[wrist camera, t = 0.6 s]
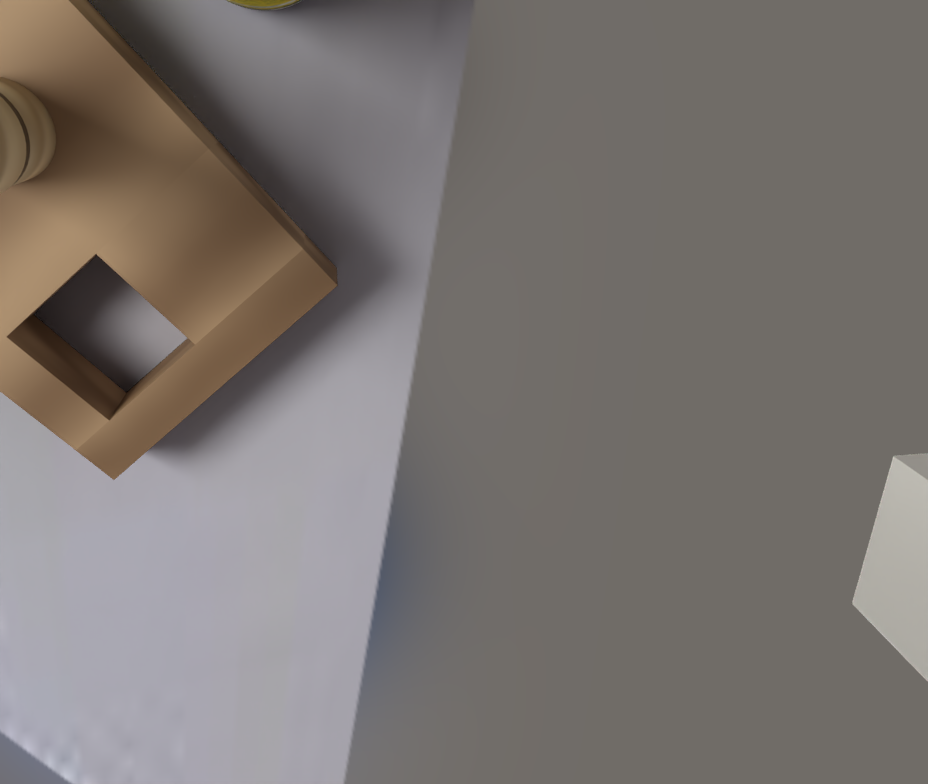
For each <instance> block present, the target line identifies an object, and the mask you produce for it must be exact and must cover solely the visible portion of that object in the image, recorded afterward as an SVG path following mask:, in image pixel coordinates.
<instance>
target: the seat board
mask: <svg viewBox="0 0 928 784" xmlns="http://www.w3.org/2000/svg"><path fill="white" fill-rule="evenodd" d="M0 77H3V78H6V79H10V80H12V81H14V82H17V83H19V84H20V85H22V86H24V87H25V88H27V89H28V90H30V91H31V92H32V93H33V94H34V95H35V96H36V97H37V98H38V99H39V100H40V101H41V102H42V103H43V105H44V106H45V108H46V109H47V111H48V113H49V114H50V116H51V119H52V121H53V124H54V128H55V133H56V147H55V152H54V155H53V157H52V160H51V162H50V163H49V165H48V166H47V167H46V168H45V170H44V171H42V172H41V173H40V174H39V175H37V176H35V177H34V178H31V179H29V180H26V181H24V182H21V183H18V184H16V185H13V186H11V187H10V188H8V189H7V190H6V191H4V192H2V193H1V194H0V392H2V393H3V394H4V395H5V396H7V397H8V398H9V399H11V400H12V401H13V402H14V403H16V404H17V405H18V406H20V407H21V408H22V409H23V410H25V411H26V412H27V413H29V414H30V415H31V416H32V417H34V418H35V419H36V420H38V421H39V422H40V423H41V424H43V425H44V426H45V427H47V428H48V429H49V430H50V431H52V432H53V433H54V434H56V435H57V436H58V437H59V438H61V439H62V440H63V441H65V442H66V443H67V444H68V445H70V446H71V447H72V448H74V449H75V450H76V451H77V452H79V453H80V454H81V455H83V456H84V457H85V458H86V459H88V460H89V461H90V462H92V463H93V464H94V465H95V466H97V467H98V468H99V469H101V470H102V471H103V472H104V473H106V474H107V475H108V476H110V477H111V478H112V479H113V480H114V479H116V478H117V477H118V476H119V475H120V474H121V473H122V472H124V471H125V470H126V469H127V468H128V467H129V466H131V465H132V464H133V463H134V462H135V461H136V460H137V459H139V458H140V457H141V456H142V455H143V454H144V453H145V452H147V451H148V450H149V449H150V448H151V447H152V446H154V445H155V444H156V443H157V442H158V441H159V440H160V439H162V438H163V437H164V436H165V435H166V434H167V433H168V432H170V431H171V430H172V429H173V428H174V427H175V426H177V425H178V424H179V423H180V422H181V421H182V420H183V419H185V418H186V417H187V416H188V415H189V414H190V413H191V412H193V411H194V410H195V409H196V408H197V407H198V406H200V405H201V404H202V403H203V402H204V401H205V400H206V399H208V398H209V397H210V396H211V395H212V394H213V393H214V392H216V391H217V390H218V389H219V388H220V387H221V386H223V385H224V384H225V383H226V382H227V381H228V380H229V379H231V378H232V377H233V376H234V375H235V374H236V373H237V372H239V371H240V370H241V369H242V368H243V367H244V366H246V365H247V364H248V363H249V362H250V361H251V360H252V359H254V358H255V357H256V356H257V355H258V354H259V353H260V352H262V351H263V350H264V349H265V348H266V347H267V346H269V345H270V344H271V343H272V342H273V341H274V340H275V339H277V338H278V337H279V336H280V335H281V334H282V333H284V332H285V331H286V330H287V329H288V328H289V327H290V326H292V325H293V324H294V323H295V322H296V321H297V320H298V319H300V318H301V317H302V316H303V315H304V314H305V313H307V312H308V311H309V310H310V309H311V308H312V307H313V306H315V305H316V304H317V303H318V302H319V301H320V300H321V299H323V298H324V297H325V296H326V295H327V294H328V293H330V292H331V291H332V290H333V289H334V288H335V287H336V286H338V285H337V268H336V267H335V266H334V265H333V264H332V262H331V261H330V260H329V259H328V258H327V257H326V256H325V255H324V254H323V253H322V252H321V251H320V250H319V248H318V247H317V246H316V245H315V244H314V243H313V242H312V241H311V240H310V239H309V238H308V237H307V236H306V235H305V233H304V232H303V231H302V230H301V229H300V228H299V227H298V226H297V225H296V224H295V223H294V222H293V221H292V220H291V218H290V217H289V216H288V215H287V214H286V213H285V212H284V211H283V210H282V209H281V208H280V207H279V206H278V204H277V203H276V202H275V201H274V200H273V199H272V198H271V197H270V196H269V195H268V194H267V193H266V192H265V191H264V189H263V188H262V187H261V186H260V185H259V184H258V183H257V182H256V181H255V180H254V179H253V178H252V177H251V176H250V174H249V173H248V172H247V171H246V170H245V169H244V168H243V167H242V166H241V165H240V164H239V163H238V162H237V160H236V159H235V158H234V157H233V156H232V155H231V154H230V153H229V152H228V151H227V150H226V149H225V148H224V147H223V145H222V144H221V143H220V142H219V141H218V140H217V139H216V138H215V137H214V136H213V135H212V134H211V133H210V131H209V130H208V129H207V128H206V127H205V126H204V125H203V124H202V123H201V122H200V121H199V120H198V119H197V118H196V116H195V115H194V114H193V113H192V112H191V111H190V110H189V109H188V108H187V107H186V106H185V105H184V104H183V103H182V101H181V100H180V99H179V98H178V97H177V96H176V95H175V94H174V93H173V92H172V91H171V90H170V89H169V87H168V86H167V85H166V84H165V83H164V82H163V81H162V80H161V79H160V78H159V77H158V76H157V75H156V74H155V72H154V71H153V70H152V69H151V68H150V67H149V66H148V65H147V64H146V63H145V62H144V61H143V60H142V59H141V57H140V56H139V55H138V54H137V53H136V52H135V51H134V50H133V49H132V48H131V47H130V46H129V45H128V43H127V42H126V41H125V40H124V39H123V38H122V37H121V36H120V35H119V34H118V33H117V32H116V31H115V30H114V28H113V27H112V26H111V25H110V24H109V23H108V22H107V21H106V20H105V19H104V18H103V17H102V16H101V14H100V13H99V12H98V11H97V10H96V9H95V8H94V7H93V6H92V5H91V4H90V3H89V2H88V1H87V0H0ZM96 255H98V256H99V257H100V258H101V259H102V260H103V261H104V262H105V263H107V264H108V265H109V266H110V267H111V268H112V269H113V270H114V271H115V272H116V273H117V274H119V275H120V276H121V277H122V278H123V279H124V280H125V281H126V282H127V283H128V284H129V285H131V286H132V287H133V288H134V289H135V290H136V291H137V292H138V293H139V294H140V295H141V296H143V297H144V298H145V299H146V300H147V301H148V302H149V303H150V304H151V305H152V306H154V307H155V308H156V309H157V310H158V311H159V312H160V313H161V314H162V315H163V316H164V317H166V318H167V319H168V320H169V321H170V322H171V323H172V324H173V325H174V326H175V327H176V328H178V329H179V330H180V331H181V332H182V333H183V334H184V335H185V336H186V337H187V339H186V340H185V341H184V342H183V343H182V344H181V345H180V346H178V347H177V348H176V349H175V350H174V351H173V352H172V353H171V354H169V355H168V356H167V357H166V358H165V359H164V360H163V361H162V362H160V363H159V364H158V365H157V366H156V367H155V368H154V369H152V370H151V371H150V372H149V373H148V374H147V375H146V376H145V377H143V378H142V379H141V380H140V381H139V382H138V383H137V384H136V385H134V386H133V387H132V388H131V389H130V390H129V391H128V392H127V393H126V392H125V391H124V390H122V389H121V388H120V387H119V386H118V385H116V384H115V383H114V382H113V381H112V380H110V379H109V378H108V377H107V376H106V375H105V374H103V373H102V372H101V371H100V370H99V369H97V368H96V367H95V366H94V365H93V364H91V363H90V362H89V361H88V360H87V359H86V358H84V357H83V356H82V355H81V354H80V353H78V352H77V351H76V350H75V349H74V348H72V347H71V346H70V345H69V344H68V343H67V342H65V341H64V340H63V339H62V338H61V337H59V336H58V335H57V334H56V333H55V332H53V331H52V330H51V329H50V328H49V327H48V326H46V325H45V324H44V323H43V322H42V321H40V320H39V319H38V318H37V317H36V316H34V315H33V314H34V313H35V312H36V311H37V310H38V309H39V308H40V307H41V306H42V305H43V304H45V303H46V302H47V301H48V300H49V299H50V298H51V297H52V296H53V295H54V294H55V293H56V292H57V291H59V290H60V289H61V288H62V287H63V286H64V285H65V284H66V283H67V282H68V281H69V280H70V279H71V278H73V277H74V276H75V275H76V274H77V273H78V272H79V271H80V270H81V269H82V268H83V267H84V266H85V265H87V264H88V263H89V262H90V261H91V260H92V259H93V258H94V257H95V256H96Z"/></svg>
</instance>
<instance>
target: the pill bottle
mask: <svg viewBox="0 0 928 784" xmlns="http://www.w3.org/2000/svg"><path fill="white" fill-rule="evenodd" d="M227 1H229V2H231V3H233V4H235V5H238V6H241V7H245V8H249V9H255V10H278V9H283V8H286V7H290V6H292V5H294V4H296V3H299V2H301V1H302V0H227Z"/></svg>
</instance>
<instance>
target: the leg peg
mask: <svg viewBox="0 0 928 784" xmlns="http://www.w3.org/2000/svg"><path fill="white" fill-rule="evenodd" d="M55 147H56V133H55V128H54V124H53V121H52V119H51V116H50V114H49V113H48V111H47V109H46V108H45V106H44V105H43V103H42V102H41V101H40V100H39V99H38V98H37V97H36V96H35V95H34V94H33V93H32V92H31V91H30V90H28V89H27V88H25V87H24V86H22V85H20V84H19V83H17V82H14V81H12V80H10V79H6V78H3V77H0V194H1V193H2V192H4V191H6V190H7V189H8V188H10V187H11V186H13V185H16V184H18V183H21V182H24V181H26V180H29V179H31V178H34V177H35V176H37V175H39V174H40V173H41V172H42V171H44V170H45V168H46V167H47V166H48V165H49V163H50V162H51V160H52V157H53V155H54V152H55Z"/></svg>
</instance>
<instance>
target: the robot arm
mask: <svg viewBox="0 0 928 784" xmlns="http://www.w3.org/2000/svg"><path fill="white" fill-rule="evenodd" d="M852 604H853V605H854V606H855V607H856V608H857V609H858V610H859V611H860V612H861V613H862V614H863V615H864V616H865V617H866V618H867V619H868V620H869V621H870V622H871V624H873V626H875V628H876V629H877V630H878V631H879V632H880V633H881V634H882V635H883V636H884V637H885V638H886V639H887V640H888V641H889V642H890V643H891V644H892V645H893V646H894V647H895V648H896V649H897V650H898V651H899V652H900V653H901V654H902V656H904V658H905V659H906V660H907V661H908V662H909V663H910V664H911V665H912V666H913V667H914V668H915V669H916V670H917V671H918V672H919V673H920V674H921V675H922V676H923V677H924V678H925V679H926V680H927V681H928V453H923V454H911V455H901V456H894V457H893V460H892V463H891V467H890V470H889V474H888V478H887V481H886V485H885V488H884V492H883V495H882V499H881V502H880V506H879V509H878V513H877V517H876V520H875V524H874V528H873V531H872V535H871V538H870V542H869V545H868V549H867V552H866V556H865V559H864V563H863V567H862V571H861V574H860V577H859V581H858V584H857V588H856V591H855V595H854V599H853V602H852Z"/></svg>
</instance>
